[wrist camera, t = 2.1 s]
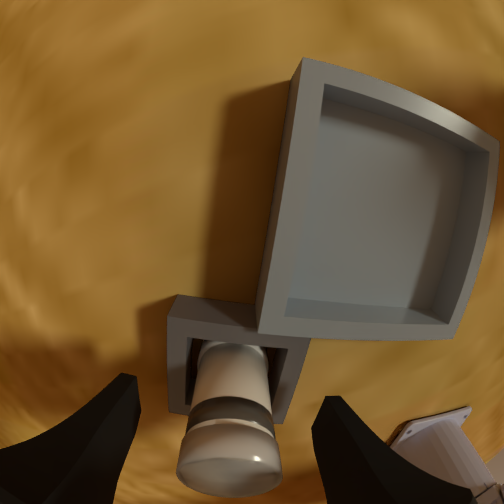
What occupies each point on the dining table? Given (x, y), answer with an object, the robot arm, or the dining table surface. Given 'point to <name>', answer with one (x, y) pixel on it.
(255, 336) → the fuse socket
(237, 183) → the dining table surface
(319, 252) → the parts tray
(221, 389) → the cylinder
